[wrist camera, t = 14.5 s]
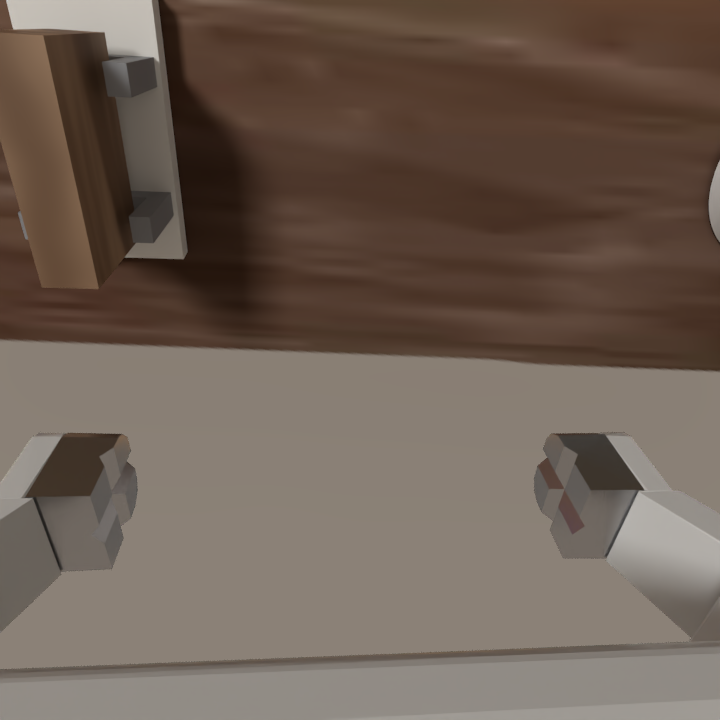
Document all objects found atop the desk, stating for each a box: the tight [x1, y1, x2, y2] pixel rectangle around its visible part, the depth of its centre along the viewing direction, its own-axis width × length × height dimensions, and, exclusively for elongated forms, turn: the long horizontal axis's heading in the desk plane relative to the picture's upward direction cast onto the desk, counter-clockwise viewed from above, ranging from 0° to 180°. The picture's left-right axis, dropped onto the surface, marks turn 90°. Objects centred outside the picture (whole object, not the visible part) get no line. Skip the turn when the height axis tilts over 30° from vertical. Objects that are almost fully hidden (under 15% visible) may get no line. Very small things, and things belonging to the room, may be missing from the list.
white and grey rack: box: [6, 0, 188, 259], centre depth 32 cm, size 8×16×7 cm, turn 177°
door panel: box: [0, 29, 136, 289], centre depth 29 cm, size 4×12×8 cm, turn 176°
